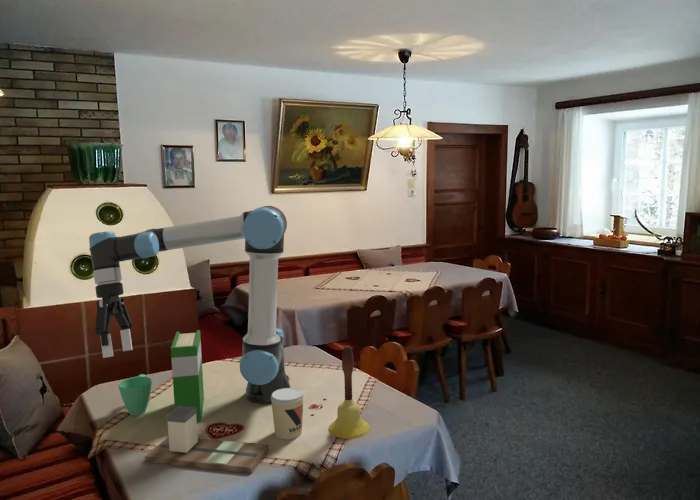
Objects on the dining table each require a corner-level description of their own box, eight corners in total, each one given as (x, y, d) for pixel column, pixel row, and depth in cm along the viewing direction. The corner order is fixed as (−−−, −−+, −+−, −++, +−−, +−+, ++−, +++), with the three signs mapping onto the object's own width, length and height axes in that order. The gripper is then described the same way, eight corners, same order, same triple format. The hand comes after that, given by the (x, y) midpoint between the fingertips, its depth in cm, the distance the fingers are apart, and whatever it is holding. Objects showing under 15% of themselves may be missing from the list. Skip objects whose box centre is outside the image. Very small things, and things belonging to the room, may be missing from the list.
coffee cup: (291, 444, 151) (289, 402, 149) (265, 436, 156) (263, 396, 154) (311, 430, 159) (309, 391, 157) (285, 423, 164) (284, 385, 162)
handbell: (337, 442, 151) (335, 356, 148) (322, 424, 163) (319, 343, 159) (377, 433, 156) (376, 349, 153) (359, 416, 167) (358, 337, 164)
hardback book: (181, 401, 181) (176, 331, 178) (204, 399, 183) (200, 329, 179) (175, 424, 164) (170, 348, 161) (201, 421, 166) (196, 346, 162)
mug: (150, 417, 169) (148, 387, 168) (117, 420, 168) (114, 389, 167) (159, 398, 184) (157, 370, 182) (129, 401, 182) (127, 372, 181)
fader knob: (169, 451, 144) (166, 415, 143) (181, 440, 150) (178, 405, 149) (186, 452, 143) (184, 417, 142) (198, 441, 149) (196, 407, 148)
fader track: (145, 461, 143) (144, 456, 143) (169, 440, 155) (169, 434, 154) (251, 473, 136) (251, 467, 136) (269, 449, 148) (268, 444, 148)
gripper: (114, 284, 176) (123, 349, 175) (75, 286, 151) (85, 362, 150) (137, 281, 176) (146, 346, 175) (102, 281, 151) (112, 357, 150)
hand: (118, 353), depth 162 cm, fingers open, 13 cm apart
